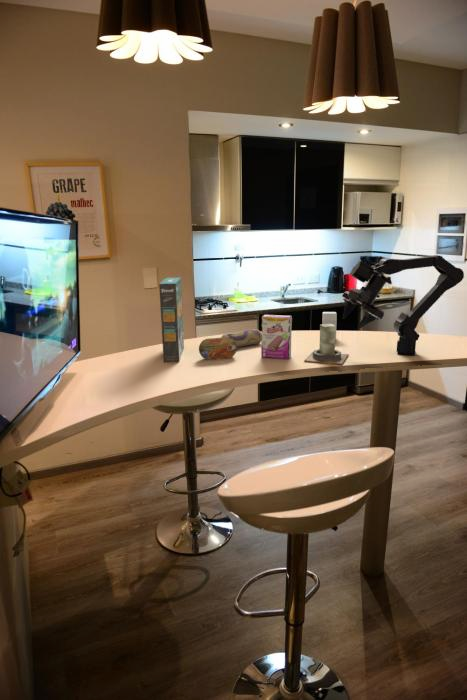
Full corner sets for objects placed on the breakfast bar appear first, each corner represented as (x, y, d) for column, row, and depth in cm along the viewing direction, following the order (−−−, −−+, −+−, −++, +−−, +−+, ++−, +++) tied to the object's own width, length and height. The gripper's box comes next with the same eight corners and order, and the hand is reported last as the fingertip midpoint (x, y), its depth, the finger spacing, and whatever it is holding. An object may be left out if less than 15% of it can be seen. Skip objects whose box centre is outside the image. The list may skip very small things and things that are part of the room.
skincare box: (335, 337, 211) (336, 311, 208) (336, 339, 207) (337, 313, 204) (321, 337, 212) (322, 311, 209) (322, 339, 208) (323, 313, 205)
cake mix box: (169, 348, 197) (166, 277, 190) (184, 348, 197) (180, 277, 190) (163, 362, 176) (159, 283, 169) (179, 362, 176) (175, 283, 169)
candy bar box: (261, 358, 180) (260, 316, 176) (263, 354, 184) (263, 314, 180) (289, 359, 177) (290, 317, 173) (291, 356, 182) (292, 315, 177)
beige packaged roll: (252, 341, 207) (252, 327, 205) (262, 345, 201) (263, 330, 199) (203, 350, 193) (202, 335, 191) (212, 354, 187) (212, 338, 185)
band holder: (348, 355, 181) (348, 349, 180) (342, 365, 168) (342, 358, 168) (312, 352, 186) (313, 346, 185) (304, 361, 173) (304, 355, 173)
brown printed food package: (200, 361, 177) (199, 339, 175) (198, 359, 180) (197, 338, 178) (237, 357, 181) (237, 336, 179) (235, 355, 184) (235, 335, 182)
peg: (330, 355, 179) (331, 323, 176) (334, 358, 175) (335, 326, 172) (319, 356, 179) (320, 324, 176) (323, 359, 174) (324, 326, 171)
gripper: (344, 272, 179) (323, 307, 182) (378, 289, 164) (354, 327, 168) (361, 283, 185) (340, 316, 189) (394, 300, 171) (371, 336, 174)
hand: (350, 323), depth 180 cm, fingers open, 9 cm apart
